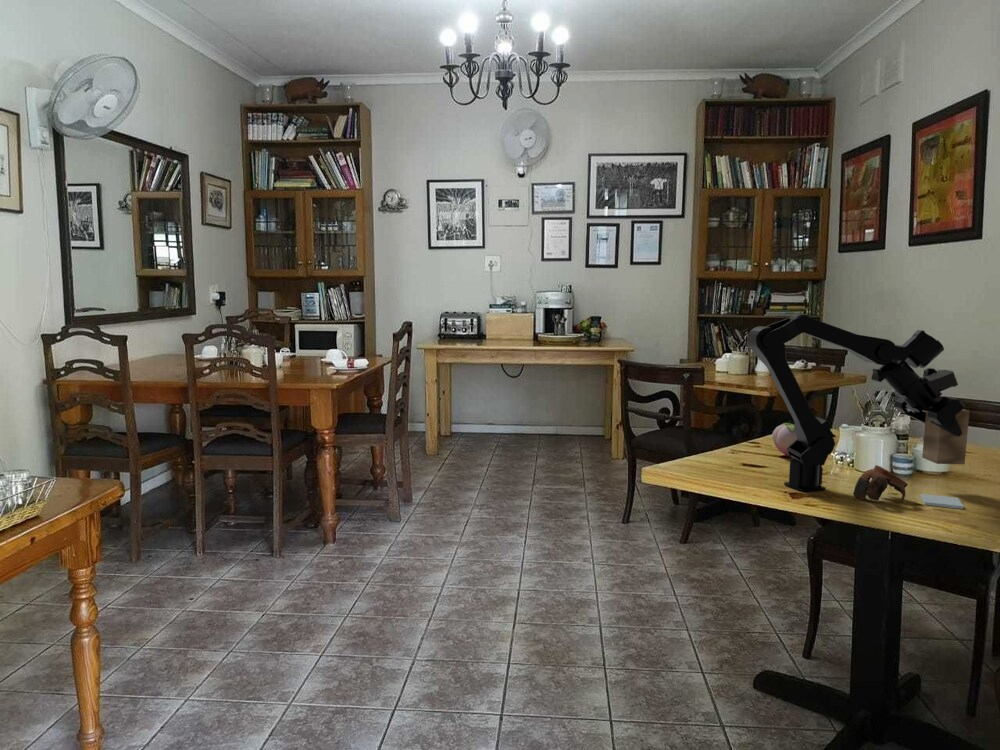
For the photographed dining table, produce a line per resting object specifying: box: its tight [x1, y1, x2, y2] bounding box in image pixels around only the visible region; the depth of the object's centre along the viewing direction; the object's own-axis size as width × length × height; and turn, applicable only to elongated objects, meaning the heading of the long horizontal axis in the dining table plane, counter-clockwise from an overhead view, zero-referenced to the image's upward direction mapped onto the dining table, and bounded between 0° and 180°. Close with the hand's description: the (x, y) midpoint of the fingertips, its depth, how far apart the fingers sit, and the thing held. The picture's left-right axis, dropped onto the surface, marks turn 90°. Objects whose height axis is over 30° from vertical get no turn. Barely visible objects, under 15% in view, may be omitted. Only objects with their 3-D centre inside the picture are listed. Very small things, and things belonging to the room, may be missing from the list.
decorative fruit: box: [771, 420, 797, 457], centre depth 196 cm, size 9×8×10 cm
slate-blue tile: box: [920, 493, 964, 510], centre depth 154 cm, size 7×7×1 cm
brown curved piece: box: [852, 464, 909, 503], centre depth 155 cm, size 12×10×8 cm
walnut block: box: [921, 408, 971, 465], centre depth 162 cm, size 6×6×12 cm
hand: (951, 432), depth 162 cm, fingers closed on walnut block, 6 cm apart
